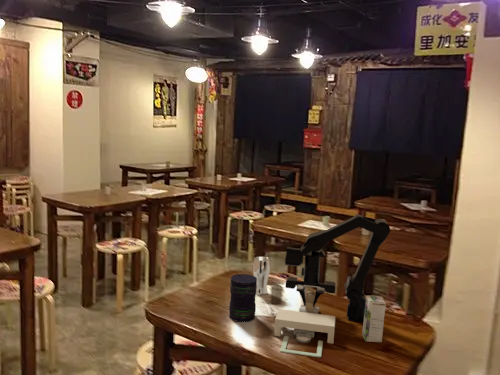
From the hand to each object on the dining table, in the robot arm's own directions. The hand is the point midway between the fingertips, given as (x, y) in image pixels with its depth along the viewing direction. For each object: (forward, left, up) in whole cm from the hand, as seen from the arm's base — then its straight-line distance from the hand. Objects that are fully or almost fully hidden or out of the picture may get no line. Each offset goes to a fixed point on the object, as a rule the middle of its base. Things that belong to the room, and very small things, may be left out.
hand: (309, 306), depth 183 cm
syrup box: (-23, +15, -3) cm, 28 cm away
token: (0, +23, -3) cm, 23 cm away
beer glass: (+22, -16, -3) cm, 28 cm away
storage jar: (+24, +11, -3) cm, 27 cm away
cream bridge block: (0, +18, -3) cm, 19 cm away
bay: (0, +28, -3) cm, 28 cm away
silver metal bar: (0, +8, -3) cm, 9 cm away
